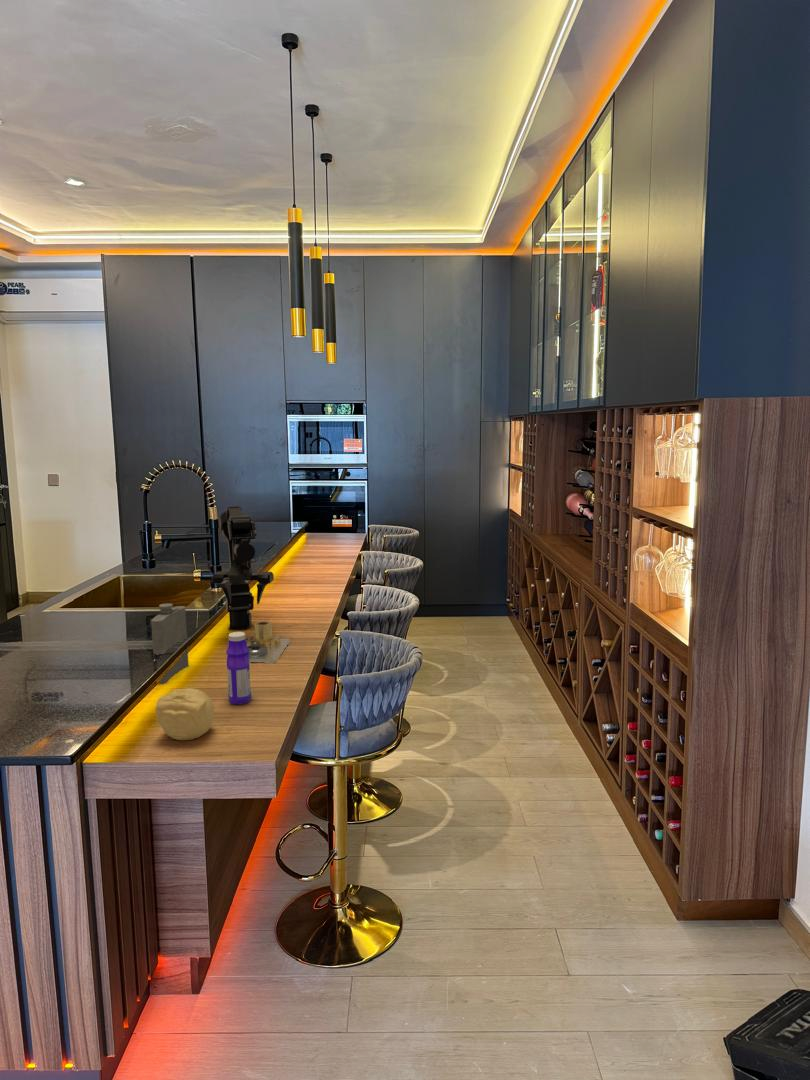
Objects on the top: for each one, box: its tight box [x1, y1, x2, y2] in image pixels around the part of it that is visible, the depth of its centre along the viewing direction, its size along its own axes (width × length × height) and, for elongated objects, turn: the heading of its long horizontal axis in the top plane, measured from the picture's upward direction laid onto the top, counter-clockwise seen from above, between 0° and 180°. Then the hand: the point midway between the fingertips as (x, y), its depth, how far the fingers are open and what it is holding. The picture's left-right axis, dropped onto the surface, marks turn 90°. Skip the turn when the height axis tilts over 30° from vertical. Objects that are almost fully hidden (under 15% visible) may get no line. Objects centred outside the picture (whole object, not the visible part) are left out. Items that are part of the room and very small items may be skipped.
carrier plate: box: [245, 637, 291, 664], centre depth 215 cm, size 14×20×5 cm
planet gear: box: [247, 620, 282, 648], centre depth 219 cm, size 10×10×6 cm
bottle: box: [225, 631, 252, 705], centre depth 176 cm, size 7×6×17 cm
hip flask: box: [150, 603, 190, 685], centre depth 195 cm, size 16×4×20 cm, turn 172°
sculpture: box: [155, 687, 215, 741], centre depth 158 cm, size 12×12×11 cm
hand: (244, 603), depth 226 cm, fingers open, 9 cm apart
